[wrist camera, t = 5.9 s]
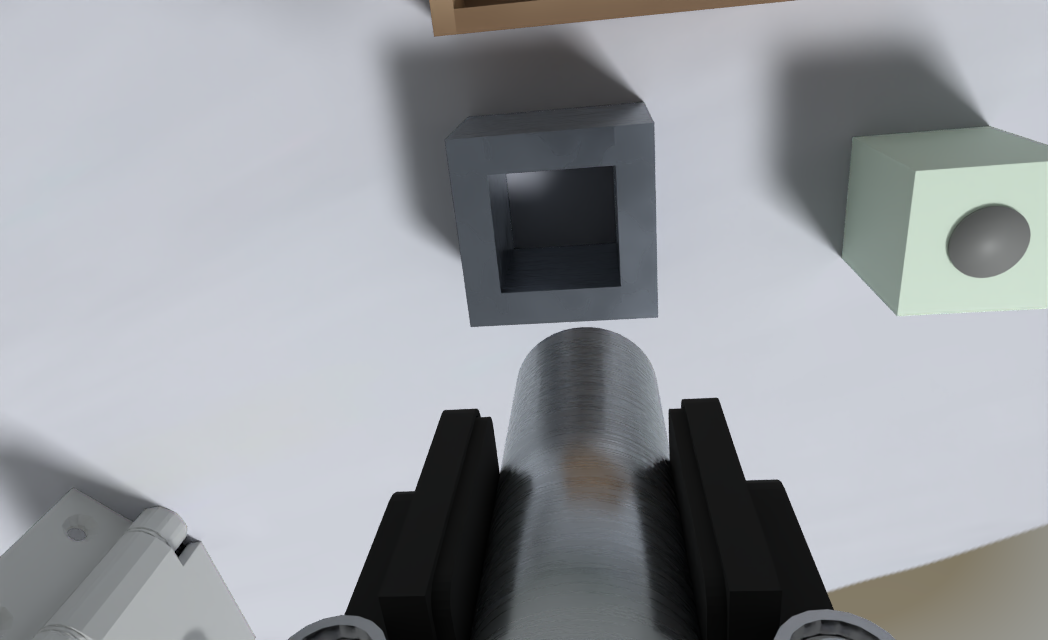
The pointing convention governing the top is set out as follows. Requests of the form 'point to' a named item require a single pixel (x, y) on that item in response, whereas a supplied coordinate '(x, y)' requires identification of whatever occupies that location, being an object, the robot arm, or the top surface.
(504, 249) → the block
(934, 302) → the pale green block
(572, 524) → the cylinder
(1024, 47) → the top surface
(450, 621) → the robot arm
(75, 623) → the hinge
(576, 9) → the tray
